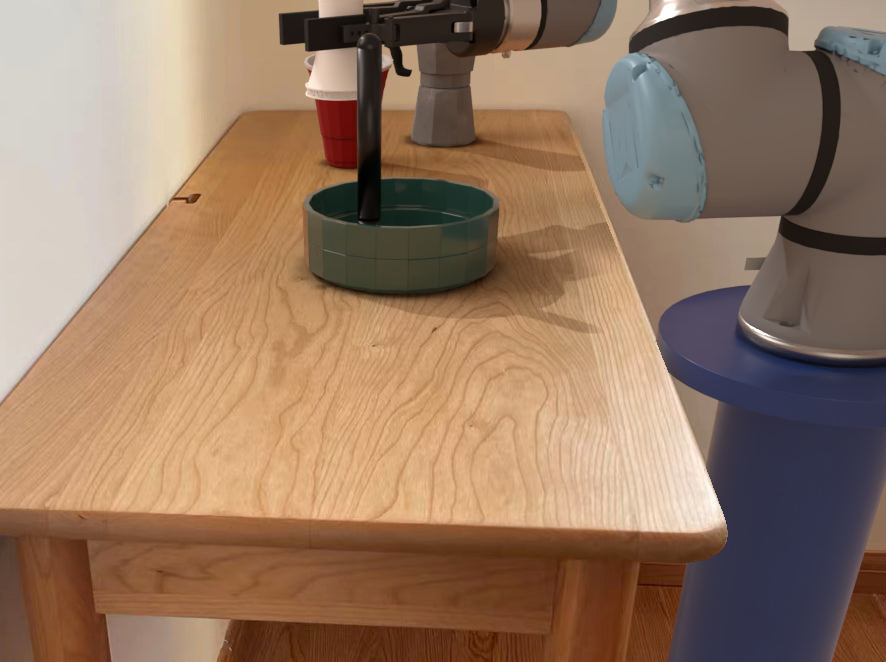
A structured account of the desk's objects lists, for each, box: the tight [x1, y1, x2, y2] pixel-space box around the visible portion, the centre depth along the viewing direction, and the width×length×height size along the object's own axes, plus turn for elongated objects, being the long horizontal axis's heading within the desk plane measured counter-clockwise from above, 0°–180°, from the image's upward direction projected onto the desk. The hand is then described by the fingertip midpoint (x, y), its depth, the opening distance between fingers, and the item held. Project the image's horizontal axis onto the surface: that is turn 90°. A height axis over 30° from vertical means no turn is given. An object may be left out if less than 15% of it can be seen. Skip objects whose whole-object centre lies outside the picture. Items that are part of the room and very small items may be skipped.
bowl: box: [302, 176, 501, 295], centre depth 107 cm, size 18×18×6 cm
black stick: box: [356, 33, 383, 226], centre depth 103 cm, size 4×4×19 cm
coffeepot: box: [388, 7, 477, 148], centre depth 149 cm, size 15×9×18 cm, turn 66°
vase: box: [304, 0, 364, 101], centre depth 113 cm, size 8×8×10 cm
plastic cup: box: [303, 53, 393, 169], centre depth 140 cm, size 11×11×12 cm
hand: (294, 32), depth 111 cm, fingers closed on vase, 5 cm apart
